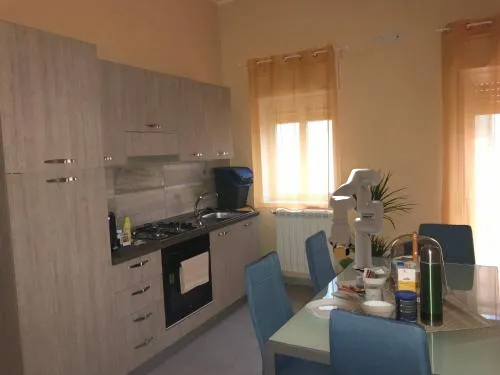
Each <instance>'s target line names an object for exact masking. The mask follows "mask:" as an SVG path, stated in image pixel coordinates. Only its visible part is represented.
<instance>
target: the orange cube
mask: <svg viewBox="0 0 500 375" xmlns="http://www.w3.org/2000/svg"><path fill="white" fill-rule="evenodd" d="M333 255H334V256H333V258H335V259H343V260H346V259H348V258H349V257H350V254H349V255H348V256H346V246H341V245H338V246H337V247H336V248H334V253H333Z"/></svg>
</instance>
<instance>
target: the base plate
mask: <svg viewBox="0 0 500 375" xmlns="http://www.w3.org/2000/svg"><path fill="white" fill-rule="evenodd" d="M349 286H350V287H352V288H354V289H356V290H361V289H364V287H357V286H356V283H354V284H349ZM350 287H349V288H350Z"/></svg>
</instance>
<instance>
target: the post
mask: <svg viewBox="0 0 500 375" xmlns="http://www.w3.org/2000/svg"><path fill="white" fill-rule="evenodd" d="M363 277H364V276H363V275H357V276H355V284H356V286H357V287H364V284H365V280H364V281H363Z"/></svg>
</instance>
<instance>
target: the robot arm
mask: <svg viewBox="0 0 500 375" xmlns="http://www.w3.org/2000/svg"><path fill="white" fill-rule="evenodd" d="M381 177H382V176H381V174H380V172H379V171H378V170H375V169H374V168H373V169H372V168H356V169H353V170H351V171H350V173H349V176H348V178H347V179H346V182H345V183H344V184H342V185H340V186H339V187H338V188H336V189H335V190H333V192H332V194H331V197H330V198H329V208H330V209H331V210H332V211H333V212H332V214H333V215H332V216H333V218H331V219H330V221H331V222H332V223H331V229H330V236H329V237H328V238H327V239H326V240H327V241H328V243H329V244H330V245H331V247H332V253H333V254H334V248H336V247H338V246H337V245H338V244H345V247H346V256H348V255H349V256H350V254H351V252H350V251H351V247H352V246H353V245H354V248H355V249H354V251H355V253H354V254H355V256H354V257H355V258H354V261H353V262H354V263H355V264H354V265H352V269H354V270H355V269H364V268H370V267H374V268H375V266H374V265H372V240H371V237H370V236H369V235H370V234H371V235H380V234H382V232H383V230H384V229H383V228H384V212H385V211H384V210H385V209H384V204H383V202H382V201H381V200H372V191H371V189H370V188H369V187H368V186H379V185H380V184H381V182H382V178H381ZM352 195H356V196H357V197H356V198H354V197H353V196H352ZM354 209H356V212H357V215H359V216H362V217H357V218H355V219H354V220H353V223H352V226H353V227H352V228H353V232H354V238H353V237H352V232H351V226H350V224H349V219H348V218H349V217H348V213H349V212H348V211H353V210H354ZM373 217H374V218H373Z"/></svg>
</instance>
